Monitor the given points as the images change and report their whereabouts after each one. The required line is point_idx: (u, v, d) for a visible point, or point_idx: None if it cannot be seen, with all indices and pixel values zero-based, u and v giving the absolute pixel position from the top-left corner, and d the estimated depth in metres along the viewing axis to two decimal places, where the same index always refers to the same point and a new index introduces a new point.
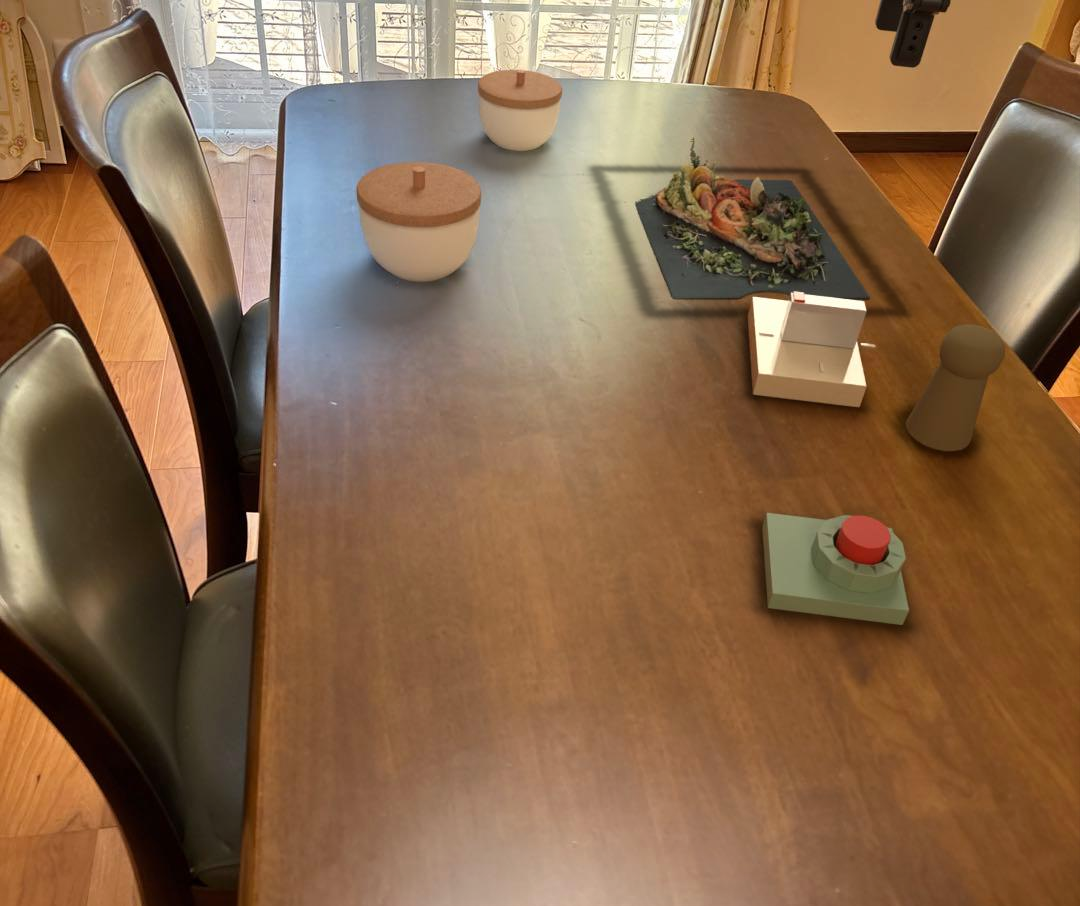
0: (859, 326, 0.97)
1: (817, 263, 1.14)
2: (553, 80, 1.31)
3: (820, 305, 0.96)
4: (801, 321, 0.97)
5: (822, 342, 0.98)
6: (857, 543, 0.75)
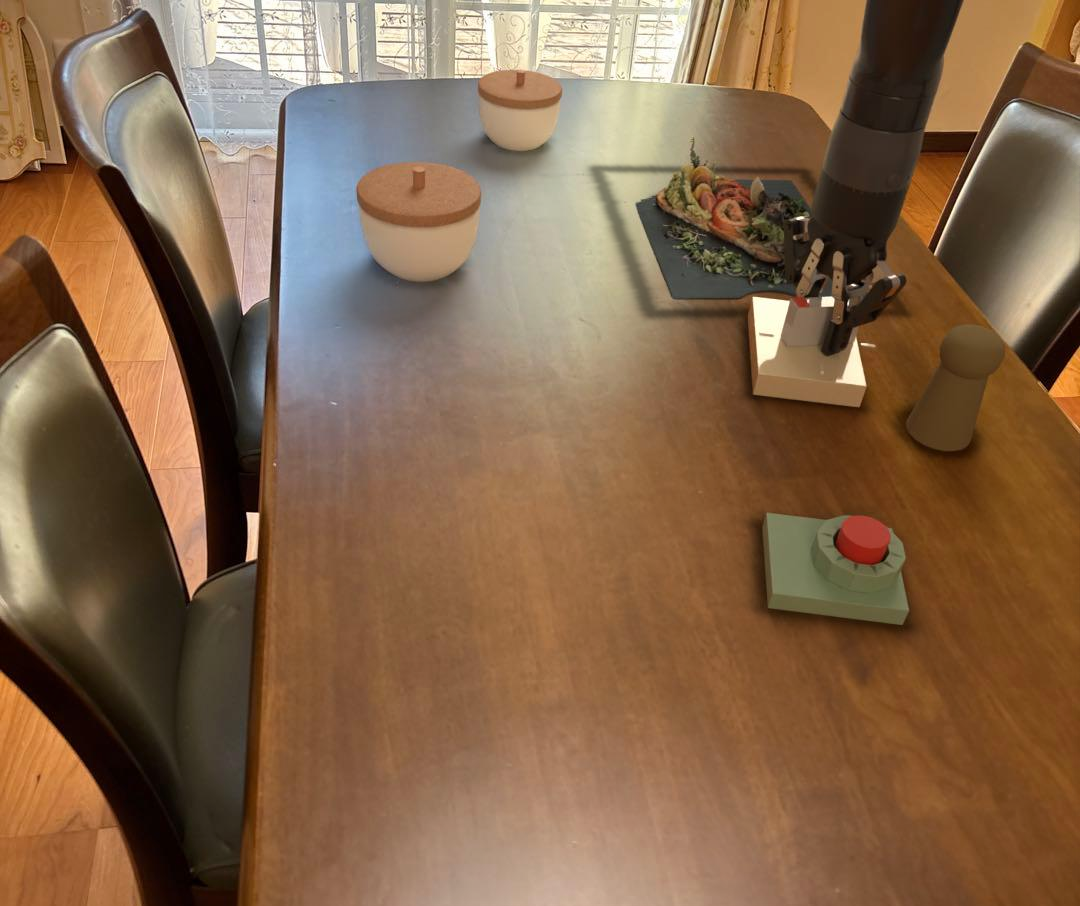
0: None
1: None
2: (553, 80, 1.31)
3: (823, 307, 0.95)
4: (806, 325, 0.96)
5: None
6: (857, 543, 0.75)
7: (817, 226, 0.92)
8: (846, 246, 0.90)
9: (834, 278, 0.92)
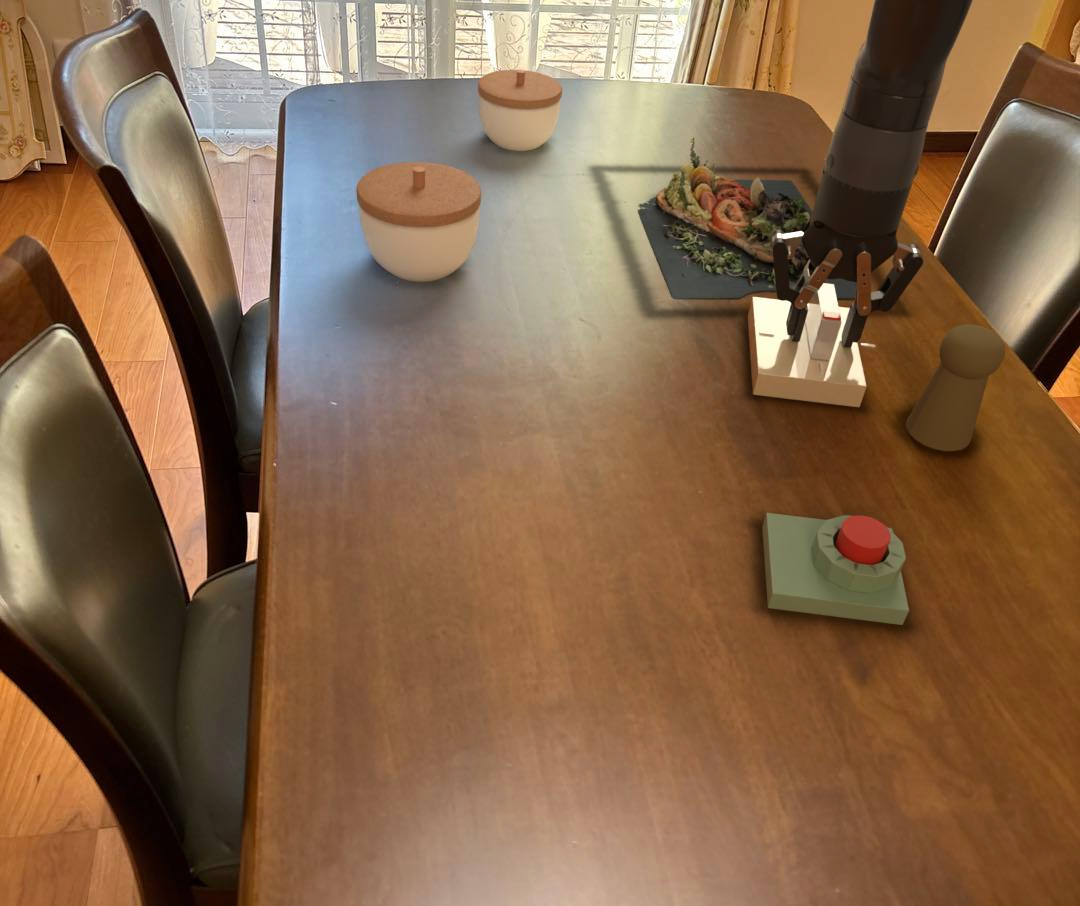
0: None
1: None
2: (553, 80, 1.31)
3: (838, 307, 0.96)
4: None
5: None
6: (857, 543, 0.75)
7: (820, 238, 0.91)
8: (863, 245, 0.91)
9: (859, 277, 0.92)
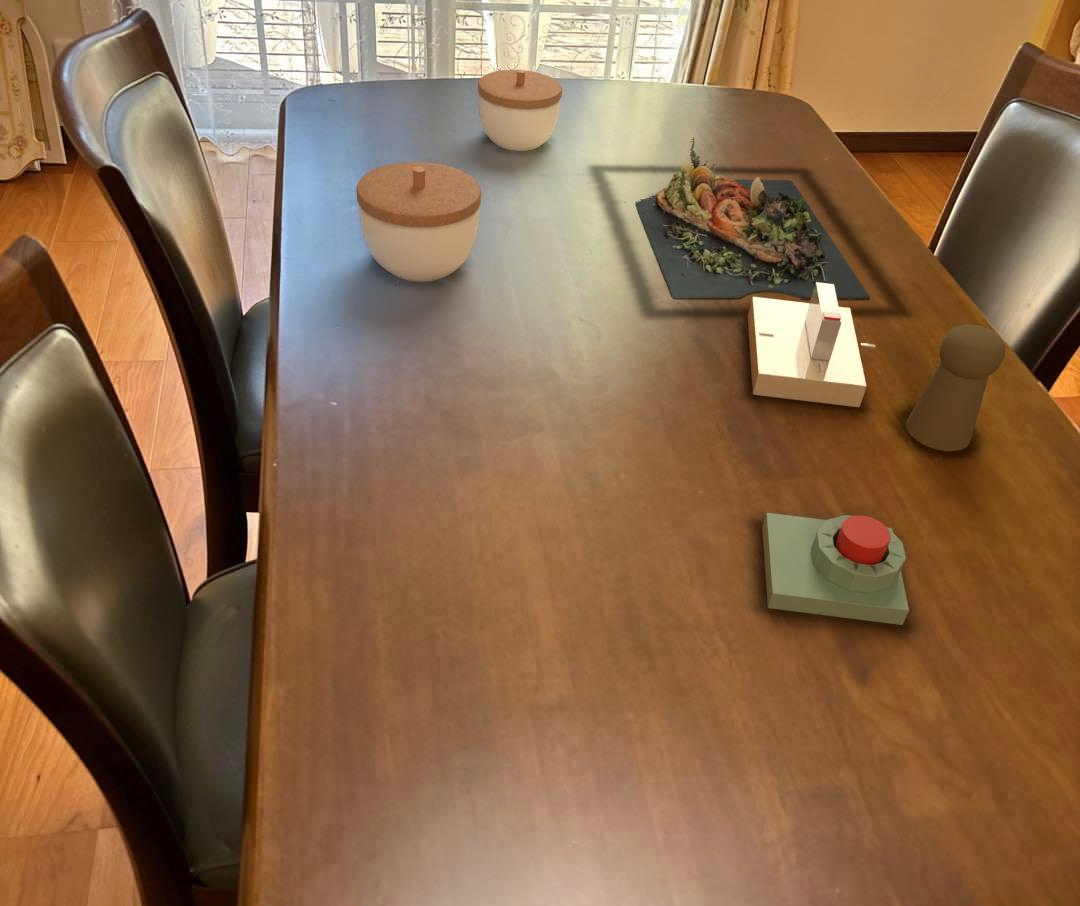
0: None
1: (817, 263, 1.14)
2: (553, 80, 1.31)
3: (838, 307, 0.96)
4: None
5: None
6: (857, 543, 0.75)
7: None
8: None
9: None
